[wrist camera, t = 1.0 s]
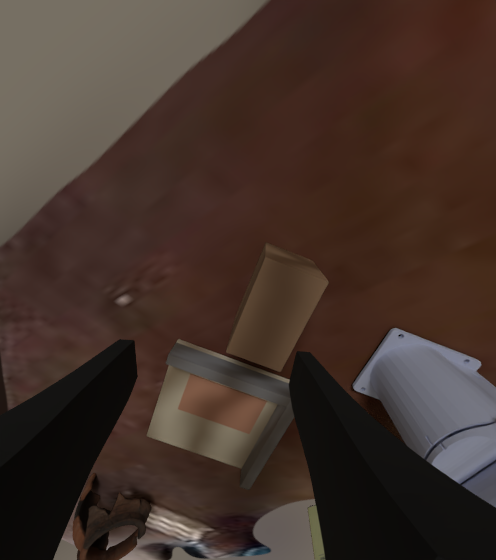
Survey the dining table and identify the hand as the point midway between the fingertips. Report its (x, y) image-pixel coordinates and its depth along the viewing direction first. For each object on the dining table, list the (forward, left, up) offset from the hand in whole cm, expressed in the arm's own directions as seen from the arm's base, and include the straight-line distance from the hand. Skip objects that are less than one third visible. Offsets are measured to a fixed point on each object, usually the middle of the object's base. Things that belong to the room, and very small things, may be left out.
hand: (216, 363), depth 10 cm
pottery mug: (+5, +39, -12) cm, 41 cm away
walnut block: (-3, 0, -12) cm, 13 cm away
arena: (-3, +16, -12) cm, 21 cm away
